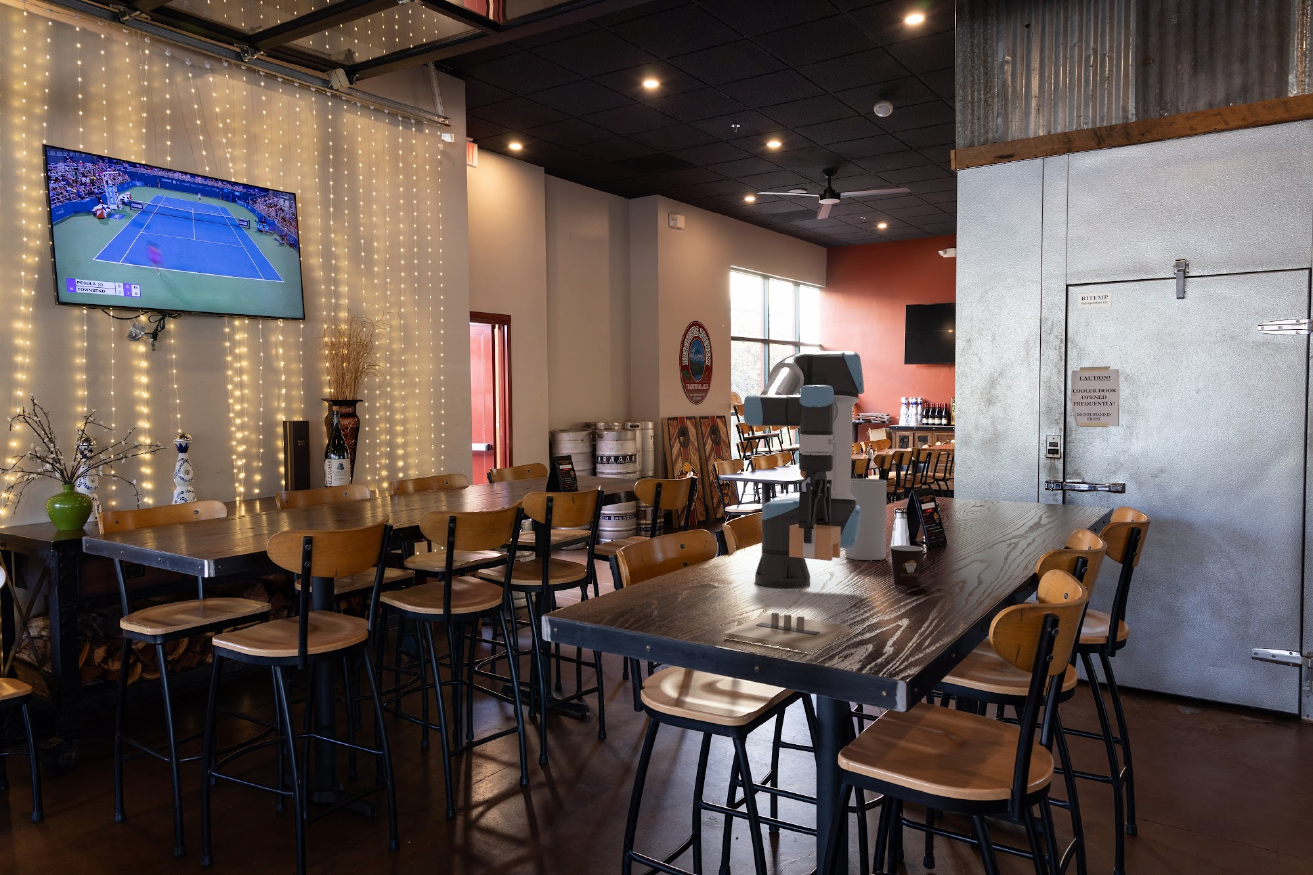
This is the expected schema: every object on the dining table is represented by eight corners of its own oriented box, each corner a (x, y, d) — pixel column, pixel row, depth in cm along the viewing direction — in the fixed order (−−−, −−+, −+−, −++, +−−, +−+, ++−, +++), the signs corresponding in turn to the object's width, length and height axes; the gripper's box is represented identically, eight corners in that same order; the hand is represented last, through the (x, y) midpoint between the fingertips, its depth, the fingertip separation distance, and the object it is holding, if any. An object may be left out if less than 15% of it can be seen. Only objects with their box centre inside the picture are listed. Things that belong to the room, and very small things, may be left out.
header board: (724, 639, 187) (724, 618, 187) (766, 619, 203) (767, 600, 203) (811, 654, 176) (811, 632, 175) (849, 632, 192) (849, 612, 192)
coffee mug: (887, 585, 241) (888, 549, 241) (891, 579, 249) (892, 544, 249) (932, 589, 237) (932, 552, 236) (934, 582, 245) (935, 547, 244)
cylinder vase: (842, 554, 289) (843, 478, 288) (880, 554, 289) (881, 478, 288) (849, 561, 277) (850, 482, 275) (889, 561, 276) (890, 482, 275)
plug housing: (789, 556, 200) (789, 525, 200) (799, 553, 205) (799, 523, 205) (830, 560, 195) (831, 529, 194) (840, 557, 199) (840, 526, 199)
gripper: (815, 455, 189) (813, 563, 190) (847, 452, 205) (845, 552, 205) (783, 454, 193) (781, 559, 194) (816, 451, 209) (815, 549, 209)
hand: (814, 555), depth 200 cm, fingers closed on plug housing, 6 cm apart
